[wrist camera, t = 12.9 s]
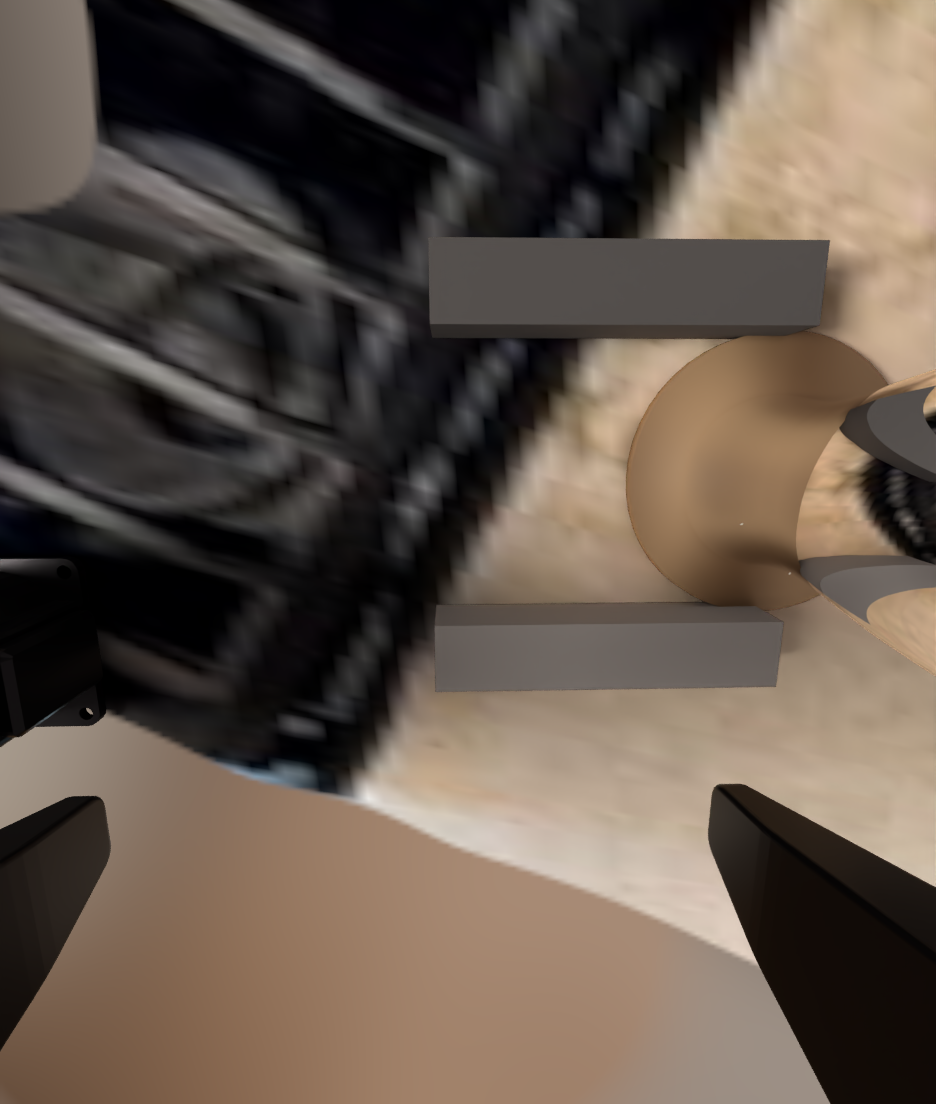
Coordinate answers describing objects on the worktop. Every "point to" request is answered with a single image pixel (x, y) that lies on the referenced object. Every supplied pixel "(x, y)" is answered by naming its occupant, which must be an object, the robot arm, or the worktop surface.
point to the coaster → (683, 418)
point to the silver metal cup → (831, 502)
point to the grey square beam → (604, 646)
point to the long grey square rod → (624, 287)
